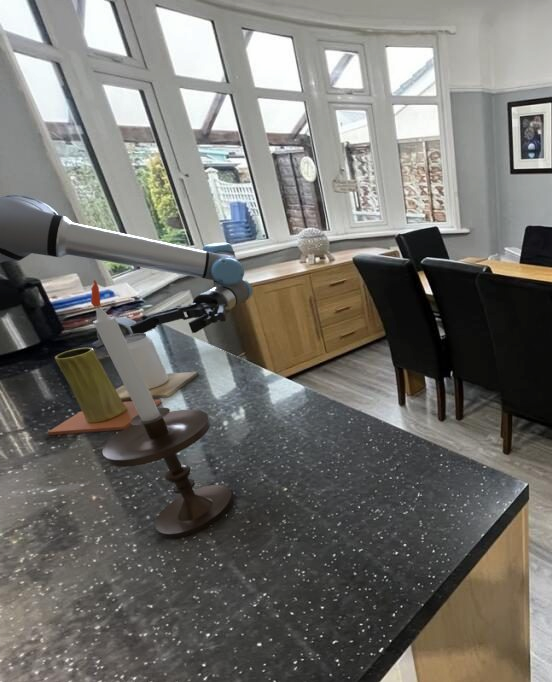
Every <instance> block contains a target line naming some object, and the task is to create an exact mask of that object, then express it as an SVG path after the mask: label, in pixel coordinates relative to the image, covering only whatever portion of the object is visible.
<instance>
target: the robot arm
mask: <svg viewBox="0 0 552 682" xmlns="http://www.w3.org/2000/svg"><path fill="white" fill-rule="evenodd" d="M31 254H33V255H34V254H35V255H42V256H48V257H55V258H64V257H65V256H73V257H74V256H75V257H79V258H84V259H85V258H86V259H89V260H90V259H91V260H96V261H103V262H107V263H113V264H120V265H125V266H131V267H136V268H144V269H149V270H155V271H159V272H160V271H161V272H166V273H171V274H177V275H182V276H188V277H189V276H190V277H195V278H200V279H205V280H209V281H213V283H214V287H212V288H211V289H209V290H206V291H204V292H202V293H200V294H198V295H196V296H195V297H194V298H193V301H192V303H189V304H188V305H183V306H182V304H181V305H180V304H178V305H175V306H173V307H171V308H166V309H163V310H159V311H156V312H153V313H149V314H146V315H145V314H144V315H142V316H141V321H138V322H136V324H134V325H132V326H130V328H131V330H132V332H133V334H138V333H145V334H146V333H147V332H149V331H151V330H154V329H156V328H157V327H158V326H160V325H163V324H167V323H171V322H175V321H179V320H184V321H187V320H190V319H193V320H191V321H189V322H188V325H189V328H190V331H191V333H192V334H196V333H198V332H199V331H201V330H204V329H205V328H206V327H208V326H209V325H212V324H216V323H218V321H220V323H221V322H222V323H223V322H226V321H227V316H228V314H229V313H230V310H231V309H232V310H233V309H234V308H236V307H238V306H240V305H241V304H243V303H245V302H246V301H248V300H249V299H250V298H251V297H252V296H253V292H254V291H253V286H252V285H251V283H250V282H249V281H248V280H246V279H244V276H245V269H244V266H243V264H242V263H241V262H240V260H238V259H237V257H236V253H235V251H234V248H233V246H232V244H230V243H229V242H215V243H209V244H205V245H204V246H203V247H202V250H201V249H196V248H191V247H187V246H182V245H178V244H173V243H168V242H165V241H159V240H154V239H149V238H145V237H142V236H136V235H132V234H126V233H122V232H117V231H113V230H107V229H103V228H99V227H94V226H89V225H86V224H80V223H76V222H73V221H72V220H70V219H69V218H68V217H67V216H66V215H65V216H64V215H60V214H58V212H57V211H56V210H55V209H54V208H53V207H51V206H50V205H48V204H46V203H45V202H43V201H40V200H39V199H36V198H34V197H30V196H26V195H20V194H19V195H18V194H11V195H4V196H0V264H1V263H3V262H4V261H12V262H20V261H22V260H23V259H25V258H26V257H28V256H31ZM185 313H186V315H185Z"/></svg>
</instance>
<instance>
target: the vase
mask: <svg viewBox="0 0 552 682" xmlns="http://www.w3.org/2000/svg"><path fill="white" fill-rule="evenodd" d="M54 360H55V362H56V364H57V366H58V367H59V369H60V371H61V372H62V374H63V376H64V378H65V379H66V381H67V383H68V384H69V387H70V389H71V391H72V394H73V395H74V398H75V400H76V402H77V403H78V406H79V408H80V410H81V411H82V412H83V414H84V416H85V419H86V421H87V422H89V423H97V422H102V421H106V420H109V419H112V418H114V417H117V416H119V415H120V414H122V413H123V412H124V411H125V410H126V406H125V405H124V404H123V402H124V401H122V400H121V398H120V397H119V395H118V393H117V392H116V388H115V386H114V385H113V383H112V381H111V379H110V378H109V376H108V374H107V372H106V370H105V368H104V366H103V365H102V363H101V361H100V360H99V357H98V355H97V353H96V352H95V350H94V348H93V347H88V346H87V347H86V346H85V347H78V348H73V349H70V350H66V351H64V352H61V353H58V354H57V355H55V356H54Z"/></svg>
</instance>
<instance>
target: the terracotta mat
mask: <svg viewBox="0 0 552 682" xmlns="http://www.w3.org/2000/svg"><path fill="white" fill-rule="evenodd" d="M153 400H154V402H155V404H156V406H157V407H158V406H159V405H160V404H161V403H162V400H161V398H156V399H153ZM122 402H123V404H124V405H125V406H126V410H125V411H124V412H123V413H122V414H120V415H119V416H117V417H114V418H112V419H109V420H106V421H102V422H97V423H89V422H87V421H86V419H85V416H84V414H83V412H82V410H81V411H79V412H77V413H76V414H74V415H73V416H71V417H69V418H68V419H65V420H64V421H63V422H61V423H60V424H58V425H57V426H55V427H53V428H52V429H50V430H48V431H47V434H48V435H49V436H58V435H60V436H61V435H70V434H71V435H72V434H84V433H85V434H86V433H97V432H110V431H111V432H112V431H123V430H124V429H126V428H128V427H130V426H132V424H131V423H130V421H131V420H132V419H133V418H134V417H135V416H137V415H139V414H138V412H137V410H136V408H135V406H134V404H133V402H132V400H129V401H122Z"/></svg>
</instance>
